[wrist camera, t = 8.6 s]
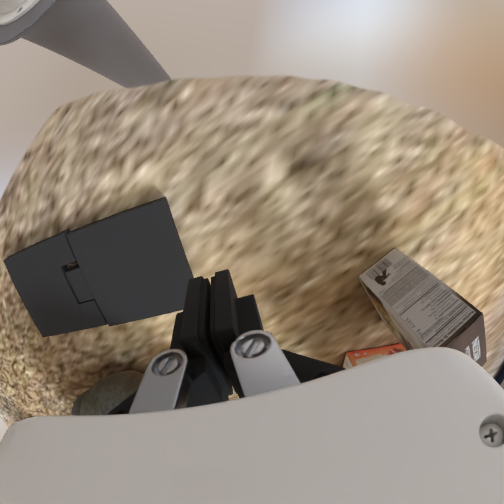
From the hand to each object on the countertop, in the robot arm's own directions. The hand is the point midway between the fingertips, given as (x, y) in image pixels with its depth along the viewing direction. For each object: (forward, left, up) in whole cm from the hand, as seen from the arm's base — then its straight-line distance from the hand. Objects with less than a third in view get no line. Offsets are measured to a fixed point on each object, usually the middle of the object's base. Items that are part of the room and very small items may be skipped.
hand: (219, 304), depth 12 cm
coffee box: (+15, +18, -18) cm, 29 cm away
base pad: (+3, -23, -18) cm, 29 cm away
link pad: (+3, -12, -18) cm, 22 cm away
